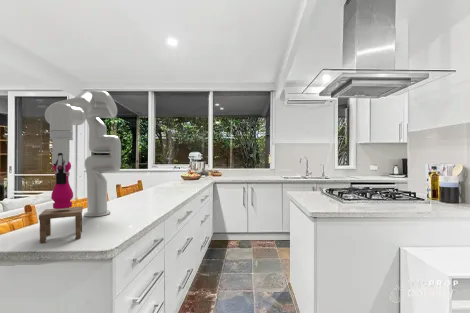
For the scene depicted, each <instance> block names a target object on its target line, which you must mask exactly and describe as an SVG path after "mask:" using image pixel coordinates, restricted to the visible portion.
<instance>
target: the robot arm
mask: <svg viewBox="0 0 470 313" xmlns="http://www.w3.org/2000/svg"><path fill="white" fill-rule="evenodd" d="M117 115H118V106H117V104H116V103H115V100H114V99H113V97H112V95H111V94H110V93H109V92H107V91H104V90H84V91H82V92H81V93H79V94H78V95H77V96H75V97H71V98H67V99H63V100H59V101H56V102H53V103H51V104H50V105H49V106H47V108H46V109H45V111H44V119H45V121H46V122H47V123H48V124H49V140H50V141H52V147H51V148H52V152H51V155H52V156H51V157H52V158H51V165H52V167H53V166H55V165H54V164H56V162H57V174H56V176H55V184H66V173H65V165H67V164H68V161H69V162H70V141H73V140H74V134H73V133H74V131H73V128H74V127H73V126H80V125H83V124H85V121H86V122H87V124H88V128H89V129H88V130H89V132H88V149H89V151H90V152H91V153H94V155H90V156H88V157H86V158H85V160H84V168H85V173H86V195H87V196H86V199H87V201H86V202H87V206H86V208H87V210H86V211H87V212H84V213H83V216H85V217H88V218H89V217H92V218H93V217H95V218H96V217H103V216H107V215H110V214H111V210H108V181H107V179H106V177H105V176H104V174H109V173H110V174H113V173H114V174H115V173H119V171H120V170H121V166H122V143H121V139H120V137H119V136H118V135H112V134H111V135H109V134H108V135H107V130H108V129H107V125H106V123H105V122H104V121H103V120H102V119H113V118H116V116H117ZM95 153H96V154H95ZM99 154H100V155H99ZM102 154H103V155H102ZM62 158H63V159H62ZM62 164H64V165H62ZM63 169H64V170H63Z"/></svg>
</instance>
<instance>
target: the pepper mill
mask: <svg viewBox="0 0 470 313" xmlns="http://www.w3.org/2000/svg"><path fill="white" fill-rule="evenodd" d="M62 159H63V158H62ZM54 165H55V166H53V165H52V169H53V170H54V177H56V174H57V162H56V164H54ZM62 165H64V164H62ZM71 169H72V163H71V162H70V160H69V161H68V164H67V165H65V173H66V184H56V183H55V185H54V187H53V189H52V191H51V200H52V201H53V202H54V203H52V209H63V208H71V207H73V202H72V199H73V198H74V192H73V189H72V187H71V185H70V182H69V176H70V170H71ZM63 170H64V169H63Z"/></svg>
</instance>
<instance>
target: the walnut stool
mask: <svg viewBox="0 0 470 313" xmlns="http://www.w3.org/2000/svg"><path fill="white" fill-rule="evenodd" d="M61 218H63V219H64V218H74V219H75V228H74V229H75V240H80V239H81V238H82V237H81V235H82V234H81V233H82V232H83V206H72V207H69V208H63V209H54V208H50V209H49V208H47V209H44V210H43V211H42V212H41V213H40V214H39V215H38V220H39V244H46V243H47V236H51V234H52V233H51V230H52V229H51V228H52V226H51V223H52V222H51V220H52V219H61Z"/></svg>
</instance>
